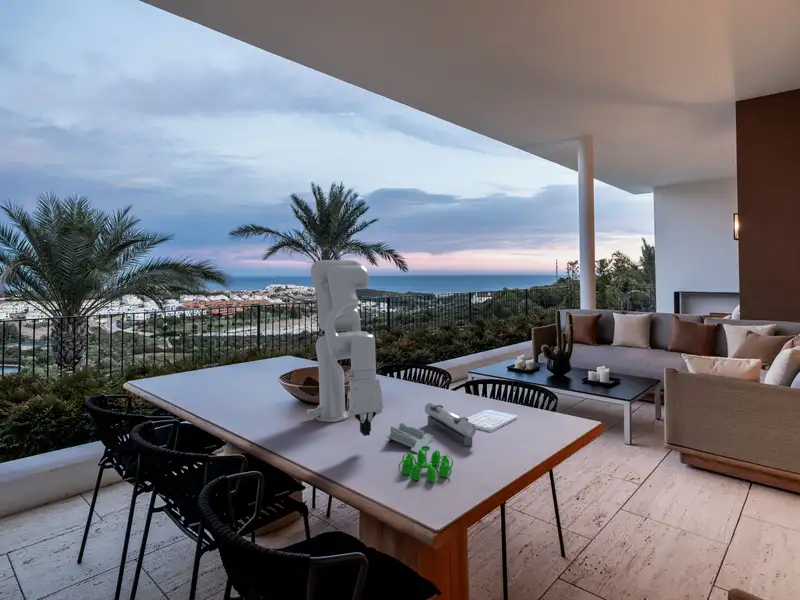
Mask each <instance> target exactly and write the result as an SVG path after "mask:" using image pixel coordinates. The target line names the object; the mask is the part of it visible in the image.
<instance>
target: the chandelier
mask: <svg viewBox="0 0 800 600" xmlns="http://www.w3.org/2000/svg"><path fill="white" fill-rule="evenodd" d="M430 449H431V448H430V446H429V445H427V446H423V447H421V449H420V450H419V452H418V454H417V455H416V457H415V456H414V455H413V454H412V453H410V452H407V453H404V454H403V456H402V458H401V459H402V460H401V461H400V462H399V464H398V467H397V468H398V472H399V473H400V474H401V475H402V474H404V475H409V478H410V480H411V482H413V481H414V482H415V481H417V480H420V478H421V477H420V475H421V470H422V469H427V470H426V480H427V481H429V482H430V483H431V484H433V483H435V480H436V474H437V475H438V476H439V477H442V478H447V479H448V478H449V477H450V476H451V475H452V467H453V465H454V461H453V459H452V457H451V456H450V455H447V454H444V455H441V452H440V451H439V450H437V449H436V450H433V452H432V454H431V459H430V461H429V462H427V452H428V451H430ZM422 450H423V451H422ZM416 458H417V460H416ZM449 458H450V460H451V465H450V460H449ZM401 465H402V466H401ZM400 466H401V469H402V471H401V470H400ZM411 468H412V469H411ZM448 474H449V475H448Z"/></svg>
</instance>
